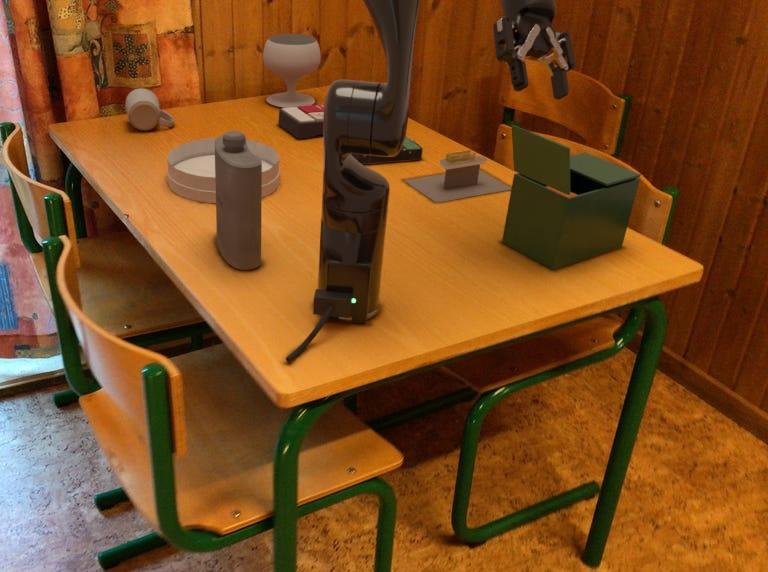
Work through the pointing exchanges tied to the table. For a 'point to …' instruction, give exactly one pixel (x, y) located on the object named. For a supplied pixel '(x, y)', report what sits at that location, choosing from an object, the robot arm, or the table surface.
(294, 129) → the dark box with panels
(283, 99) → the chalice
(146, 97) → the ceramic mug
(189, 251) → the table surface
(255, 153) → the dish
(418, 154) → the disk drive
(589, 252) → the green flap box
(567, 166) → the green box lid flap
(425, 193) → the platform
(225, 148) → the flask
